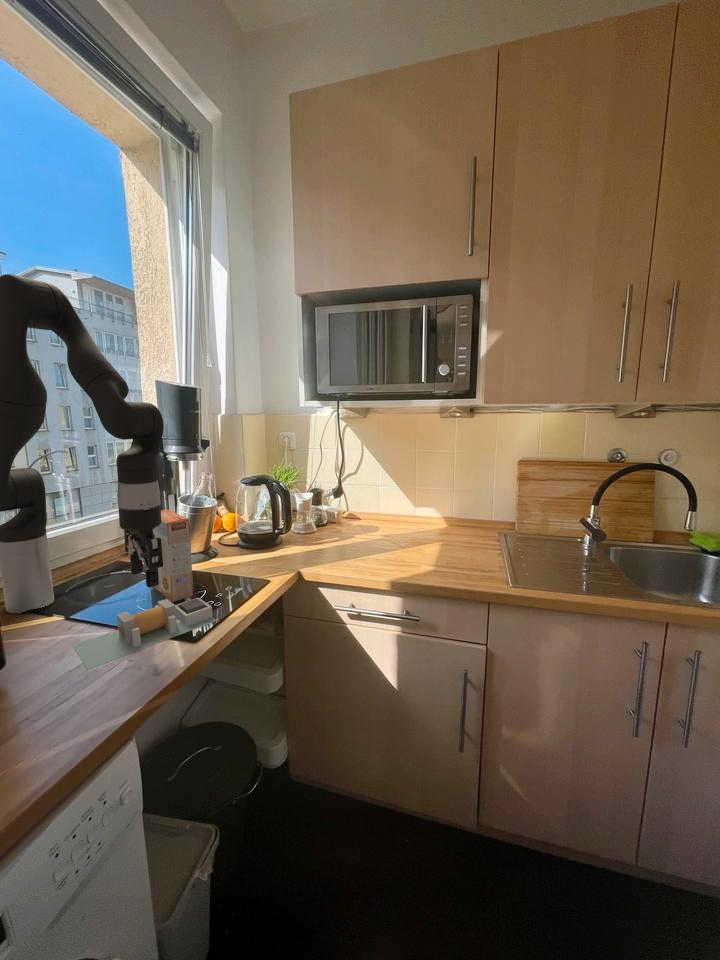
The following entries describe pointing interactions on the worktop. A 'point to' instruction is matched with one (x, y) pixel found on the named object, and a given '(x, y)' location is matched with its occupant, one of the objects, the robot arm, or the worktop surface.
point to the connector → (192, 606)
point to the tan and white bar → (145, 620)
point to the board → (140, 637)
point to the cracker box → (174, 557)
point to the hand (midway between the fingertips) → (144, 579)
